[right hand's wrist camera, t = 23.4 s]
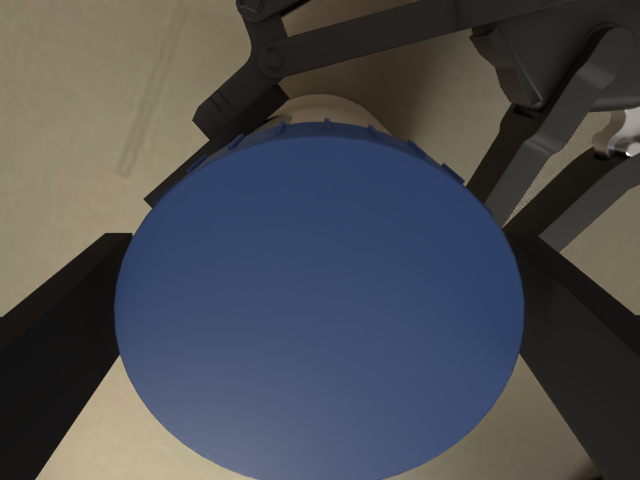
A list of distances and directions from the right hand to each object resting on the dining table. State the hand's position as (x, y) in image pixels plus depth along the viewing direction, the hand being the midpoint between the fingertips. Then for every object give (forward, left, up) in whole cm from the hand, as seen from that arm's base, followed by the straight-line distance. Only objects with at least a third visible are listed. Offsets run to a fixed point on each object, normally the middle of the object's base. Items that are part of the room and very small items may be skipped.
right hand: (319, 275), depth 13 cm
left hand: (-1, +5, -6) cm, 8 cm away
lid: (0, 0, +3) cm, 3 cm away
